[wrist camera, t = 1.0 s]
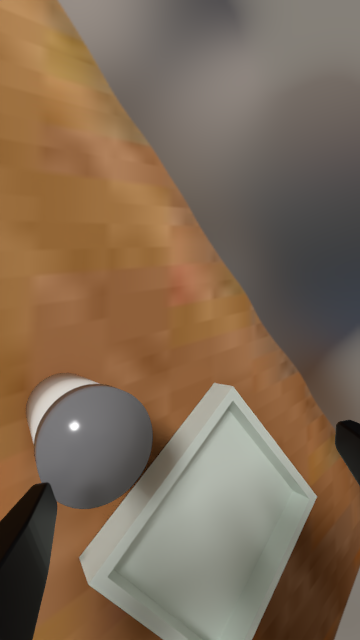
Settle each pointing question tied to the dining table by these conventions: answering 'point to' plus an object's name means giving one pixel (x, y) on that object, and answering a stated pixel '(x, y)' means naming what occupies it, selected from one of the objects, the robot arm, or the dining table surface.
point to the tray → (204, 528)
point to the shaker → (87, 439)
